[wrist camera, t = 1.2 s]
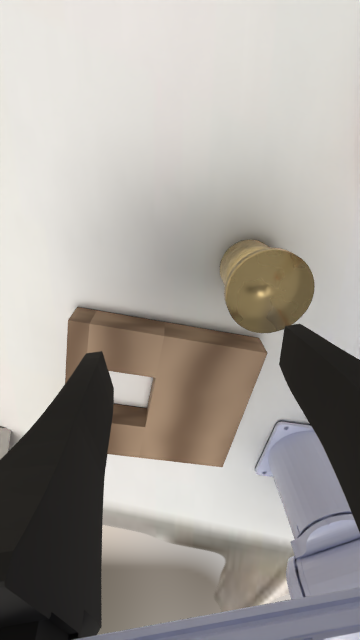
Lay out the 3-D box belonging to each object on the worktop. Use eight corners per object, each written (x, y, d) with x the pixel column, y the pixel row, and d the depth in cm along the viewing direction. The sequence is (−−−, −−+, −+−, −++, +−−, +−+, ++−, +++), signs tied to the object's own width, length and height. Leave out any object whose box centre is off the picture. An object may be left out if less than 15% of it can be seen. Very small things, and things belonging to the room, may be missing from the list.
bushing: (291, 240, 23) (328, 260, 17) (267, 304, 25) (294, 339, 19) (223, 226, 22) (241, 242, 17) (206, 292, 24) (216, 325, 19)
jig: (259, 338, 26) (267, 353, 24) (218, 446, 32) (222, 467, 30) (77, 306, 24) (68, 320, 22) (70, 428, 30) (62, 448, 28)
